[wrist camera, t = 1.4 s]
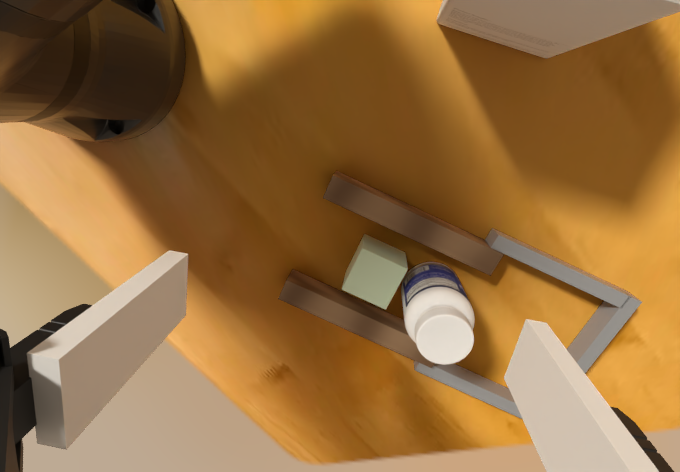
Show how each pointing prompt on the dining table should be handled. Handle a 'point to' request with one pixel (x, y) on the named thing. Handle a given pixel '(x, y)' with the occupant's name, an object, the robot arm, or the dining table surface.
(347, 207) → the slot rails
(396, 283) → the chip cube
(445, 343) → the pill bottle
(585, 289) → the grey u-shaped frame
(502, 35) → the supplement box
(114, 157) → the dining table surface
